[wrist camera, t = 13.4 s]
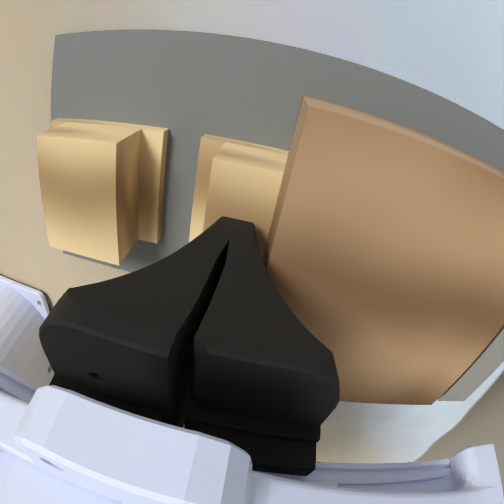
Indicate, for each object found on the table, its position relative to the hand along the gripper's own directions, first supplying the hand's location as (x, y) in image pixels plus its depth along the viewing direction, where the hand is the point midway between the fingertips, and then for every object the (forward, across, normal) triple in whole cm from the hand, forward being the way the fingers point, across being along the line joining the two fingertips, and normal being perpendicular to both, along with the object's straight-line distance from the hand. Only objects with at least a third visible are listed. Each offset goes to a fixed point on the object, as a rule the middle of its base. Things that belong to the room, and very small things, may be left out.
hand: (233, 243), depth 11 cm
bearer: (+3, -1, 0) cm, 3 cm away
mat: (+4, -3, -1) cm, 5 cm away
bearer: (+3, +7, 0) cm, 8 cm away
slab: (+1, -6, 0) cm, 6 cm away
